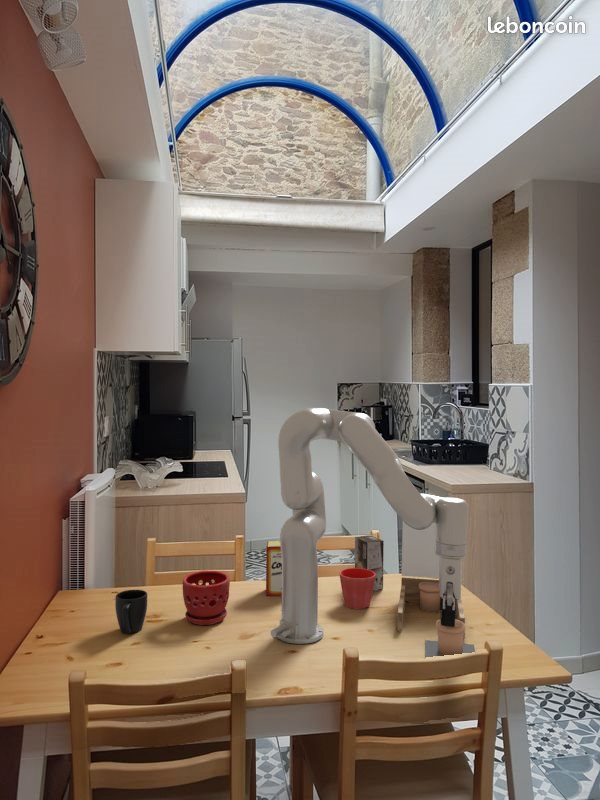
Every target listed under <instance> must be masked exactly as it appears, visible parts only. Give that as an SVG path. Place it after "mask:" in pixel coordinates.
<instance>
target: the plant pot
mask: <svg viewBox="0 0 600 800" xmlns="http://www.w3.org/2000/svg"><path fill="white" fill-rule="evenodd" d="M200 581H202V583H201V584H200V583H199V582H200ZM212 581H213V582H212ZM230 582H231V580H230V576H229V575H228V574H227V573H225V572H222V571H217V570H202V571H195V572H191V573H189V574H187V575H186V576H184V577H183V578H182V597H183V603H184V606H185V608H186V611H185V612H184V613H185V617H186V619H187V621H189V622H190V623H192V624H195V625H199V626H205V625H206V626H207V625H214V624H218V623H220V622H221V621H223V620H224V619H225V618H226V617H227V614H228V611H227V609H226V607H227V606H228V601H229V598H230V585H231V584H230ZM207 584H208V585H207Z"/></svg>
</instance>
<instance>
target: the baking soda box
mask: <svg viewBox="0 0 600 800" xmlns="http://www.w3.org/2000/svg"><path fill="white" fill-rule="evenodd" d="M265 549H266V550H265V551H266V552H265V553H266V557H265V558H266V559H265V560H266V561H265V562H266V563H265V564H266V565H265V567H266V568H265V570H266V571H265V597H282V555H281V546H280V540H275V541H274V540H273V541H272V540H271V541H270V540H269V541H267V542H266V548H265Z"/></svg>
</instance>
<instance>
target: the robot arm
mask: <svg viewBox="0 0 600 800" xmlns="http://www.w3.org/2000/svg"><path fill="white" fill-rule="evenodd" d="M278 433H279V434H278V438H277V439H278V441H277V442H278V443H277V444H278V445H277V446H278V457H279V459H278V460H279V477H280V478H279V479H280V496H281V500H282V502H283V504H284V505H285V507H287V508H288V509H290V510H291V511H292V516H291V517H289V518H287V520H286V521H285V522H284V523H283V525H282V526H281V528H280V532H279V541H280V546H281V555H282V596H281V619H280V620H279V625H278V626H277V627H275V628H273V629H271V630H270V636H271V637H272V638H277V639H278V640H280V641H282V642H285V643H289V644H295V645H303V644H312V643H315V642H318V641H320V640H321V639H322V638H323V636H324V629H323V628H322V626H320V625H319V624H318V616H319V614H318V610H319V607H318V606H319V605H318V604H319V603H318V602H319V600H318V599H319V595H318V594H319V565H318V564H319V563H318V552H317V551H318V550H317V543H318V542H319V541H320V540H321V539H322V538H323V537H324V534H325V532H326V528H327V518H326V517H327V516H326V515H327V514H326V505H325V502H326V501H325V491H324V490H325V489H324V484H323V482H322V480H321V478H320V477H319V476H318V474H316V473H315V472H314V471H313V468H312V454H311V451H310V450H311V449H310V444H311V442H313V441H315V440H320V439H321V440H322V439H324V440H328V441H329V440H330V441H335V442H336V441H337V442H343V443H344V445H345V446H346V447H347V448H348V450H349V451H350V452H351V453H352V455H353V456H354V457H355V458H356V460H357V461H358V462H359V463H360V464H361V465H362V467H363V468H364V469H365V470H366V472H367V473H368V474H369V476H370V477H371V478H372V481H373V482H374V484H375V485H376V486H377V488H378V490H379V491H380V492H381V494H382V496H383V497H384V499H385V500H386V502H388V504H389V506H390V507H391V508H392V509H393V511H394V512H395V513H396V514H397V515H398V517H399V519H401V520H402V522H403V521H404V522H405V523H406V524H407V525H408V526H409V527H411V528H413V529H415V530H424V529H426V528H428V527H429V526H430V525H431V524H432V523H435V524H436V532H435V552H434V553H435V554H436V555H437V556H439V578H438V580H439V590H440V612H441V613H440V614H441V616H440V619H441V625H442V626H450V627H454V626H455V619H456V607H455V598H456V599H458V600H460V599H461V600H462V575H463V574H462V566H463V563H462V562H463V561H462V559H466V558H467V557H466V556H467V543H468V524H469V523H468V522H469V503H468V502H467V501H466V500H465V499H462V498H459V497H446V496H445V497H446V498H441V497H442V496H436V495H431V494H429V493H420V492H419V490H418V489H417V488H416V487H415V486H414V484H413V483H412V482H411V480H410V479H409V477H408V475H407V474H406V473H405V472H406V471H405V470H404V468H403V465H402V463H401V460H400V457H399V456H398V455H397V453H396V452H395V451H394V449H393V448H392V447H391V446H390V445H389V443H387V441H386V440H385V439H384V438H383V437H382V436H381V434H380V433H379V432H378V430H377V429H376V425H375V422H374V419H372V418H371V417H370V416H369V415H368V414H366V413H364V412H363V413H362V412H355V411H353V412H352V411H345V410H339V409H332V408H326V407H325V408H324V407H306V408H303V409H300V410H298V411H296V412H294V413H293V414H291V415H290V416H289V417H288V418H287V419H286V420H285V421H284V422H283V424H282V426H281V428H280V430H279V432H278Z"/></svg>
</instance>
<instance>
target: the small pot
mask: <svg viewBox="0 0 600 800" xmlns="http://www.w3.org/2000/svg"><path fill="white" fill-rule="evenodd" d="M435 622H436V630H437V641H438V653H439V654H441V655H443V656H444V655H454V654H462V653H463V644H464V637H463V632H464V631H465V632H466V623H465V624H464V623H463V622H461V621H459V620H457V618H455V626H454V627H450V626H442V625H441V618H440V619H437V620H436V621H435Z"/></svg>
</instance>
